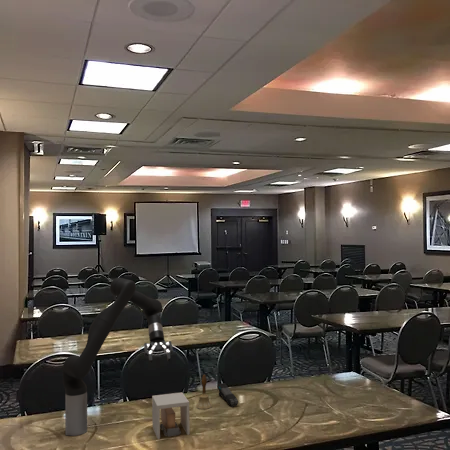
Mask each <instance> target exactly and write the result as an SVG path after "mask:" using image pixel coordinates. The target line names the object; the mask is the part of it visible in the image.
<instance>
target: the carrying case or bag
mask: <svg viewBox="0 0 450 450" xmlns="http://www.w3.org/2000/svg"><path fill="white" fill-rule="evenodd" d="M172 393H177V392H176V391H169V392H168V391H167V392H162V393H160V395H164V394H172Z"/></svg>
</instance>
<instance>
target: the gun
mask: <svg viewBox="0 0 450 450" xmlns="http://www.w3.org/2000/svg"><path fill="white" fill-rule="evenodd" d="M216 389H217V390H218V396H219V397H221V398H222V399H223V400H224V401H226V402H227V404H228V405H229V406H230V407H231V408H233V407H237V406H238V405H239V399H238V398H237V397H236V395H235V394H234V393H233V392H232V391H231V389H230V388H229V386H228V385H227V383H225V382H221V383H217V388H216Z"/></svg>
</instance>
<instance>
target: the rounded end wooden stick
mask: <svg viewBox="0 0 450 450" xmlns="http://www.w3.org/2000/svg"><path fill="white" fill-rule="evenodd" d="M160 421H161V424H163V425H164V427H165V429H166V432H167V429H169V428H176V426H175V422H176V412H175V411H174V409H173V407H172V408H164V409H160Z"/></svg>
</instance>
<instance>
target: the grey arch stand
mask: <svg viewBox="0 0 450 450" xmlns="http://www.w3.org/2000/svg"><path fill="white" fill-rule="evenodd" d="M151 401H152V404H151V405H152V406H151V407H152V409H151V410H152V411H151V412H152V415H151V416H152V423H151V424H152V429H153V431H154V434H155V437H156V439H157V440H160V439H161V430H162V433H163V435H164V437H174V436H180V435H181V434H182V433H181V429H180V427H179V425H178V424H177V422H176V421H175V426H176V428H169V429H167V431H166V429H165V427H164V425H163V423H161V422H160V421H161V409H164V408H172V409H173V408H179V407H180V411H179V413H180V415H179V416H180V425H181V427H182V428H183V430H184V431H185V433H186V435H190V434H191V433H190V430H191V429H190V401H189V400H188V398H187V397H186V396H185V394H184V393H183V392H176V393H172V394H164V395H161V394H157V395H151ZM160 429H161V430H160Z"/></svg>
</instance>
